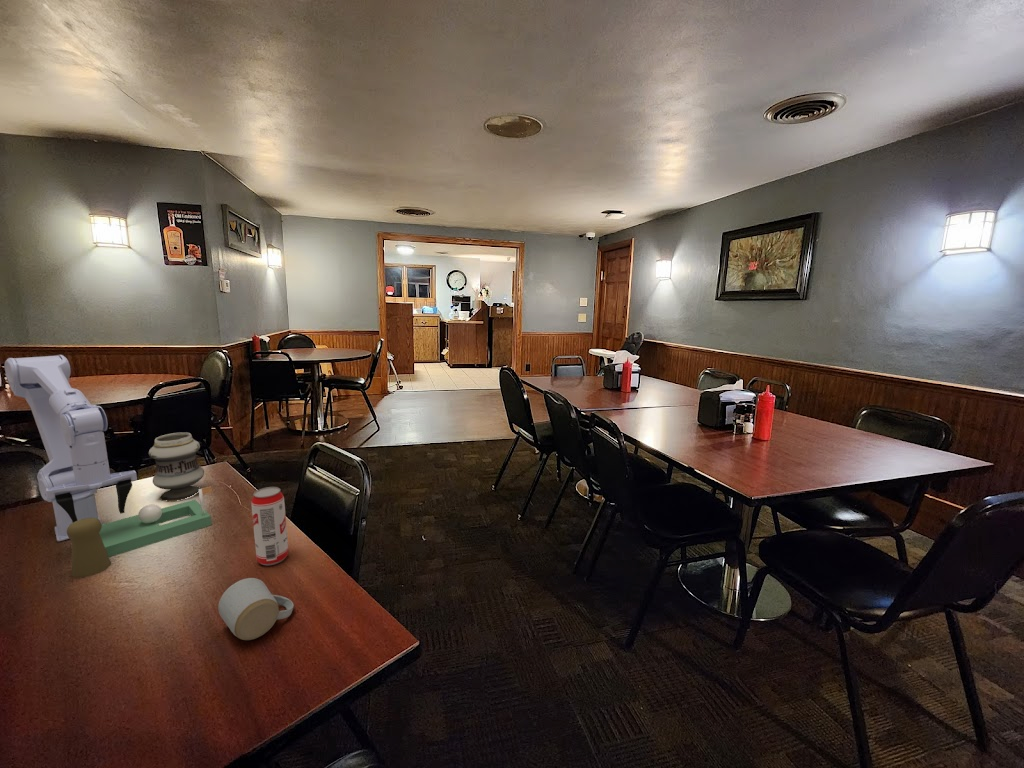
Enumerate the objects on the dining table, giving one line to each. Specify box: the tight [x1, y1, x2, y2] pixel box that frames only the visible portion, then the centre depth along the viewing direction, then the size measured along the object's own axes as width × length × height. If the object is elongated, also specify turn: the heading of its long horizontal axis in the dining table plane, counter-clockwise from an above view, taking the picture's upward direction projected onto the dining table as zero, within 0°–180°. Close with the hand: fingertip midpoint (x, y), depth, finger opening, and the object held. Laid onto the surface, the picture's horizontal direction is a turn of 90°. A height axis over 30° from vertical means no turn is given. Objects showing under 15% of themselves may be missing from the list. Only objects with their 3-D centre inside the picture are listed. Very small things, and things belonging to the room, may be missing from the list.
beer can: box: [250, 486, 290, 567], centre depth 94 cm, size 6×6×16 cm
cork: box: [67, 518, 112, 579], centre depth 90 cm, size 6×6×11 cm
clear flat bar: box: [198, 486, 213, 516], centre depth 110 cm, size 1×3×7 cm, turn 139°
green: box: [99, 499, 213, 558], centre depth 106 cm, size 14×21×2 cm, turn 139°
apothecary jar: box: [148, 431, 205, 502], centre depth 126 cm, size 12×12×18 cm
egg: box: [137, 503, 162, 523], centre depth 106 cm, size 4×4×4 cm
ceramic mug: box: [217, 577, 295, 641], centre depth 76 cm, size 11×8×8 cm
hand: (99, 517), depth 98 cm, fingers open, 7 cm apart
